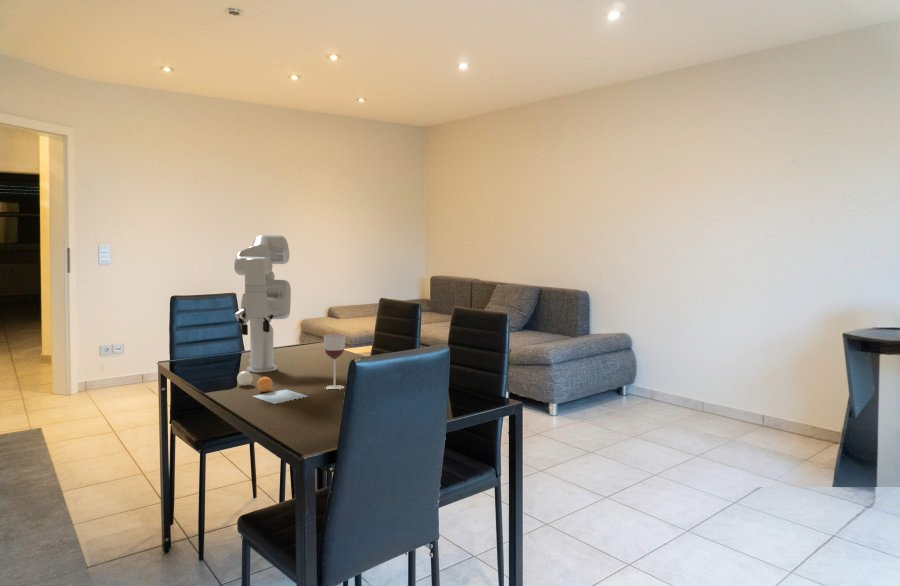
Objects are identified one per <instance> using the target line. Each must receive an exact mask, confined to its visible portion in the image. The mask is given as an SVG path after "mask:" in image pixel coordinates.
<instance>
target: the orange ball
mask: <svg viewBox="0 0 900 586" xmlns="http://www.w3.org/2000/svg"><path fill="white" fill-rule="evenodd" d="M273 385H274V383H273V380H272V379H271V378H270V377H269V376H263V377H260V378H259V379H258V380H257V383H256V387H257V390H259V392H262V393H269V392H270V391H271V390H272V389H273Z"/></svg>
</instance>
